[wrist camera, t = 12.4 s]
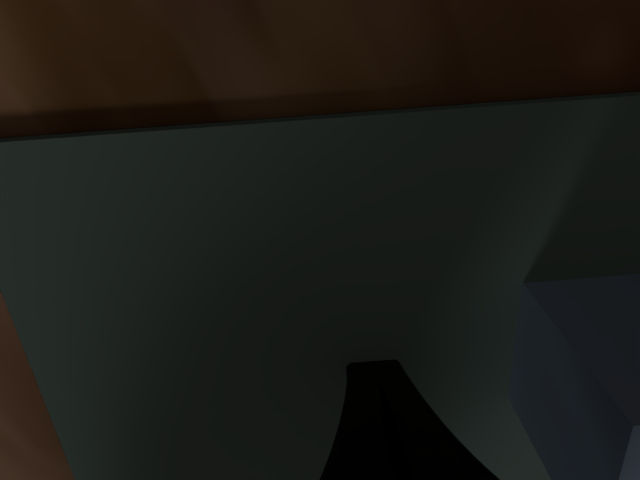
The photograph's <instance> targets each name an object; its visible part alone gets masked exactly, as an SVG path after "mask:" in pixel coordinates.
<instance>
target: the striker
mask: <svg viewBox="0 0 640 480" xmlns="http://www.w3.org/2000/svg"><path fill="white" fill-rule="evenodd" d="M508 398H509V400H510V402H511V404H512V406H513V408H514V410H515V412H516V414H517V416H518V417H519V419H520V421H521V423H522V425H523V427H524V429H525V431H526V433H527V435H528V437H529V439H530V440H531V442H532V444H533V446H534V448H535V450H536V452H537V454H538V456H539V458H540V460H541V461H542V463H543V465H544V467H545V469H546V471H547V473H548V475H549V477H550V479H551V480H640V274H632V275H619V276H606V277H593V278H581V279H568V280H555V281H543V282H530V283H522V291H521V299H520V307H519V315H518V323H517V331H516V339H515V347H514V355H513V362H512V370H511V378H510V386H509V394H508Z"/></svg>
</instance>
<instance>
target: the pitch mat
mask: <svg viewBox="0 0 640 480" xmlns="http://www.w3.org/2000/svg"><path fill="white" fill-rule="evenodd" d="M632 274H640V92H627V93H613V94H599V95H586V96H572V97H558V98H545V99H531V100H517V101H504V102H490V103H476V104H463V105H449V106H435V107H422V108H408V109H394V110H381V111H367V112H353V113H340V114H326V115H312V116H299V117H285V118H271V119H258V120H244V121H230V122H216V123H203V124H189V125H175V126H162V127H148V128H134V129H121V130H107V131H93V132H80V133H66V134H52V135H39V136H25V137H11V138H0V290H1V292H2V295H3V297H4V300H5V302H6V305H7V307H8V310H9V313H10V315H11V318H12V320H13V323H14V325H15V328H16V330H17V333H18V336H19V338H20V341H21V343H22V346H23V348H24V351H25V353H26V356H27V358H28V361H29V364H30V366H31V369H32V371H33V374H34V376H35V379H36V381H37V384H38V387H39V389H40V392H41V394H42V397H43V399H44V402H45V404H46V407H47V410H48V412H49V415H50V417H51V420H52V422H53V425H54V427H55V430H56V433H57V435H58V438H59V440H60V443H61V445H62V448H63V450H64V453H65V456H66V458H67V461H68V463H69V466H70V468H71V471H72V473H73V476H74V479H75V480H320V477H321V475H322V472H323V470H324V468H325V465H326V462H327V460H328V457H329V454H330V452H331V449H332V446H333V442H334V439H335V436H336V432H337V429H338V426H339V422H340V418H341V414H342V409H343V404H344V400H345V393H346V385H347V376H346V366H347V365H348V364H350V363H354V362H368V361H381V360H395V359H396V360H397V361H399V362H400V364H401V365H402V367H403V369H404V370H405V372H406V374H407V375H408V377H409V378H410V380H411V381H412V383H413V384H414V385H415V387H416V388H417V390H418V391H419V392H420V394H421V395H422V397H423V398H424V399H425V401H426V402H427V403H428V404H429V406H430V407H431V408H432V409H433V411H434V412H435V413H436V414H437V416H438V417H439V418H440V419H441V421H442V422H443V423H444V424H445V425H446V426H447V428H448V429H449V430H450V431H451V432H452V433H453V434H454V435H455V436H456V438H457V439H458V440H459V441H460V442H461V443H462V444H463V445H464V446H465V447H466V448H467V449H468V450H469V451H470V452H471V453H472V454H473V455H474V456H475V457H476V458H477V459H478V460H479V461H480V462H481V463H482V464H483V465H484V466H485V467H486V468H488V469H489V470H490V471H491V472H492V473H493V474H494V475H495V476H497V477H498V478H499V479H500V480H551V479H550V477H549V475H548V473H547V471H546V469H545V467H544V465H543V463H542V461H541V460H540V458H539V456H538V454H537V452H536V450H535V448H534V446H533V444H532V442H531V440H530V439H529V437H528V435H527V433H526V431H525V429H524V427H523V425H522V423H521V421H520V419H519V417H518V416H517V414H516V412H515V410H514V408H513V406H512V404H511V402H510V400H509V398H508V394H509V386H510V378H511V370H512V362H513V355H514V347H515V339H516V331H517V323H518V315H519V307H520V299H521V291H522V283H530V282H543V281H555V280H568V279H581V278H593V277H606V276H619V275H632Z"/></svg>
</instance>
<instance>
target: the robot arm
mask: <svg viewBox="0 0 640 480" xmlns="http://www.w3.org/2000/svg"><path fill="white" fill-rule="evenodd" d="M346 376H347V385H346V393H345V400H344V404H343V409H342V414H341V418H340V422H339V426H338V429H337V432H336V436H335V439H334V442H333V446H332V449H331V452H330V454H329V457H328V460H327V462H326V465H325V468H324V470H323V472H322V475H321V477H320V480H500V479H499V478H498V477H497V476H495V475H494V474H493V473H492V472H491V471H490V470H489V469H488V468H486V467H485V466H484V465H483V464H482V463H481V462H480V461H479V460H478V459H477V458H476V457H475V456H474V455H473V454H472V453H471V452H470V451H469V450H468V449H467V448H466V447H465V446H464V445H463V444H462V443H461V442H460V441H459V440H458V439H457V438H456V436H455V435H454V434H453V433H452V432H451V431H450V430H449V429H448V428H447V426H446V425H445V424H444V423H443V422H442V421H441V419H440V418H439V417H438V416H437V414H436V413H435V412H434V411H433V409H432V408H431V407H430V406H429V404H428V403H427V402H426V401H425V399H424V398H423V397H422V395H421V394H420V392H419V391H418V390H417V388H416V387H415V385H414V384H413V383H412V381H411V380H410V378H409V377H408V375H407V374H406V372H405V370H404V369H403V367H402V365H401V364H400V362H399V361H397V360H396V359H395V360H381V361H368V362H354V363H350V364H348V365H347V366H346Z"/></svg>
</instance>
